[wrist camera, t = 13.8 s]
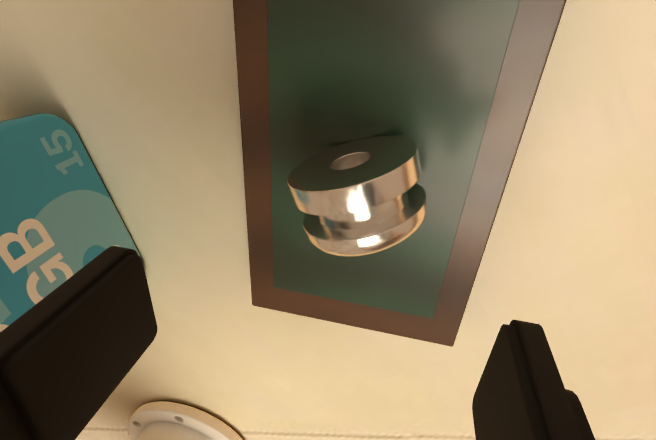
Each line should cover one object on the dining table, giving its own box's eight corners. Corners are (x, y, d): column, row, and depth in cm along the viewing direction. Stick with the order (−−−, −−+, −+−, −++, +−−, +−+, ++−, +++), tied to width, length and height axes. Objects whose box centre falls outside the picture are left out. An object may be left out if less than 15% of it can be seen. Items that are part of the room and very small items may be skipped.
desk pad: (451, 321, 23) (453, 350, 22) (263, 284, 25) (250, 307, 24) (583, -103, 13) (607, -118, 11) (247, -112, 15) (221, -126, 13)
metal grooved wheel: (418, 126, 16) (415, 175, 12) (430, 190, 17) (430, 256, 13) (306, 150, 17) (268, 201, 13) (325, 207, 19) (295, 270, 15)
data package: (152, 276, 27) (-8, 443, 17) (102, 277, 29) (-75, 434, 19) (65, 105, 22) (-247, 206, 12) (7, 117, 23) (-318, 216, 13)
